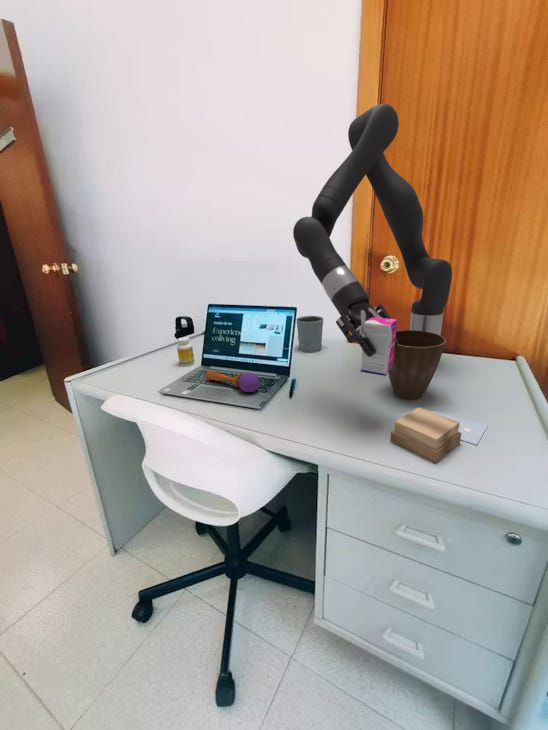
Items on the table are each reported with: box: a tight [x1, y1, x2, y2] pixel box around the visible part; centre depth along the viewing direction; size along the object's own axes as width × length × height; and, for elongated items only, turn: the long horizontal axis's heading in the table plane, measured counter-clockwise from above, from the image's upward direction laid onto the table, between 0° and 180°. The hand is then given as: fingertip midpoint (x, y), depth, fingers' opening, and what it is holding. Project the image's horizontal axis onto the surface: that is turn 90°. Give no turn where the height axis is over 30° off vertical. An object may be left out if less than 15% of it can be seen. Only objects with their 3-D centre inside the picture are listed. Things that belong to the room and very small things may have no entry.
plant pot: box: [387, 329, 447, 400], centre depth 92 cm, size 15×15×16 cm
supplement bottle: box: [176, 336, 195, 367], centre depth 124 cm, size 5×5×10 cm
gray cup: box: [295, 315, 324, 354], centre depth 132 cm, size 10×10×12 cm
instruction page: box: [430, 410, 488, 446], centre depth 78 cm, size 9×12×1 cm
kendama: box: [205, 369, 260, 393], centre depth 105 cm, size 6×6×20 cm
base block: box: [389, 406, 461, 464], centre depth 72 cm, size 10×10×5 cm
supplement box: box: [360, 317, 398, 377], centre depth 76 cm, size 6×6×12 cm
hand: (384, 350), depth 75 cm, fingers closed on supplement box, 7 cm apart
